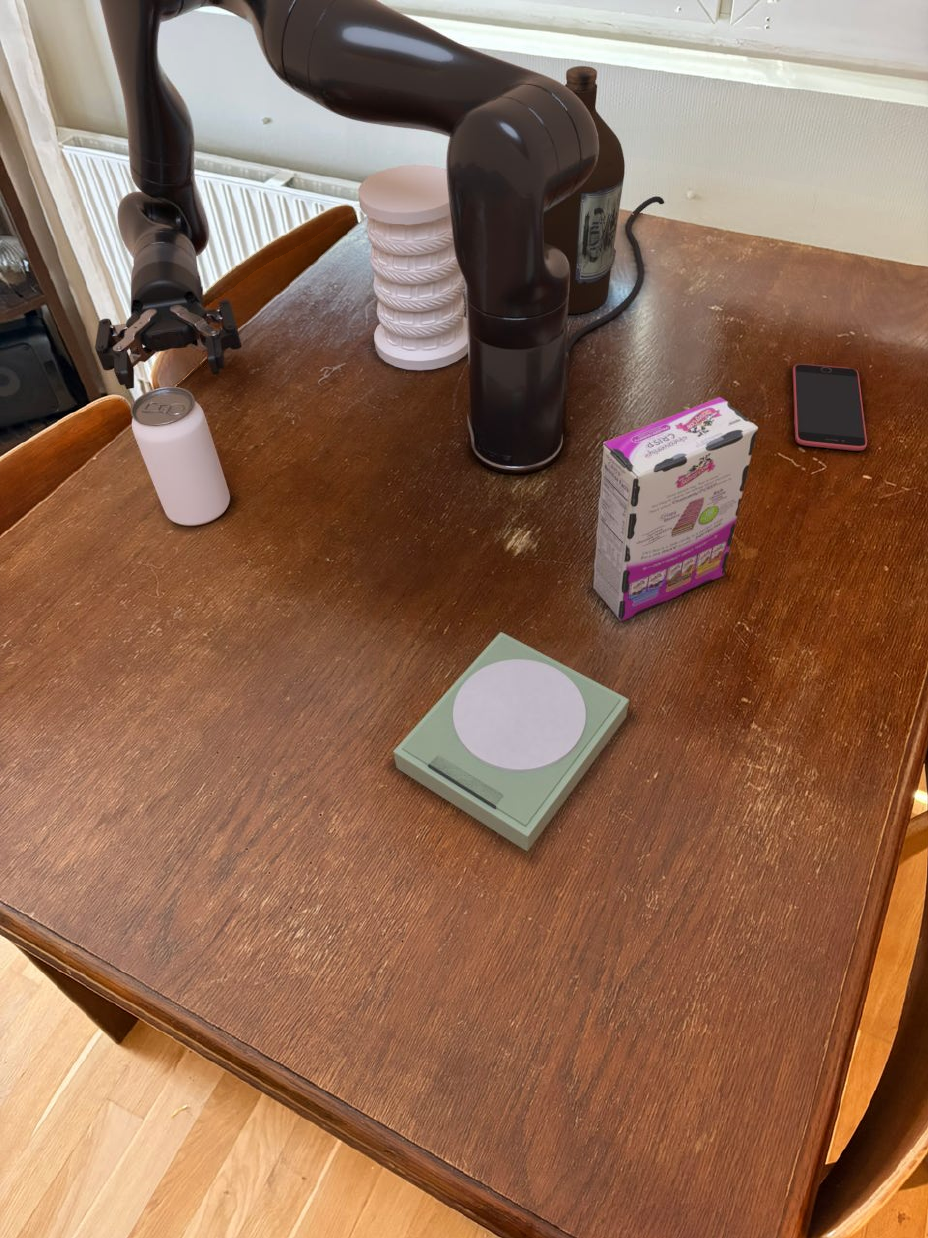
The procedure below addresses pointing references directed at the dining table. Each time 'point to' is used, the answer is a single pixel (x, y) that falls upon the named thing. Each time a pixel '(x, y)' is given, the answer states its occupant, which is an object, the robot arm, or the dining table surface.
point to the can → (180, 455)
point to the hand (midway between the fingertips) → (170, 373)
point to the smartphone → (828, 407)
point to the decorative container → (414, 268)
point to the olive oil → (589, 209)
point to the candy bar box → (669, 505)
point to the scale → (512, 738)
